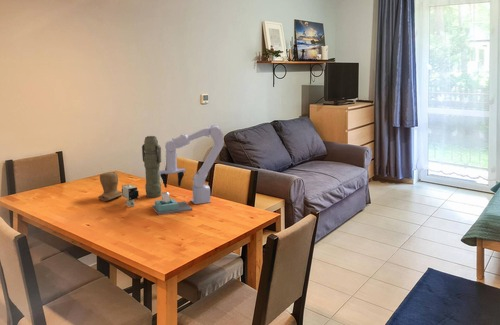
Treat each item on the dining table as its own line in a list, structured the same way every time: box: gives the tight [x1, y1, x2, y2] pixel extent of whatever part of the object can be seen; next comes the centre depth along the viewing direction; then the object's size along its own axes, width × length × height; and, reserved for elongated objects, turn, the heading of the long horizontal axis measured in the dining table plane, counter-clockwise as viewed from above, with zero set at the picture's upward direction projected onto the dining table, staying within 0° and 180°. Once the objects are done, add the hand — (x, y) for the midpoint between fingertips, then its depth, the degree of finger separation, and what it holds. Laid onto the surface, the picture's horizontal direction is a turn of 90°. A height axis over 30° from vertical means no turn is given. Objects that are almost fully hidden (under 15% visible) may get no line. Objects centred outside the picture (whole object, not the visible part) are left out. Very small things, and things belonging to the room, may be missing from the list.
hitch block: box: [151, 198, 193, 216], centre depth 225 cm, size 18×14×4 cm
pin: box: [161, 191, 171, 204], centre depth 223 cm, size 4×4×8 cm
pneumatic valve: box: [121, 183, 139, 208], centre depth 230 cm, size 6×12×12 cm, turn 40°
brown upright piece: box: [97, 171, 123, 202], centre depth 243 cm, size 15×12×15 cm
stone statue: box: [141, 135, 162, 199], centre depth 245 cm, size 9×12×35 cm
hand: (172, 186), depth 234 cm, fingers open, 7 cm apart
